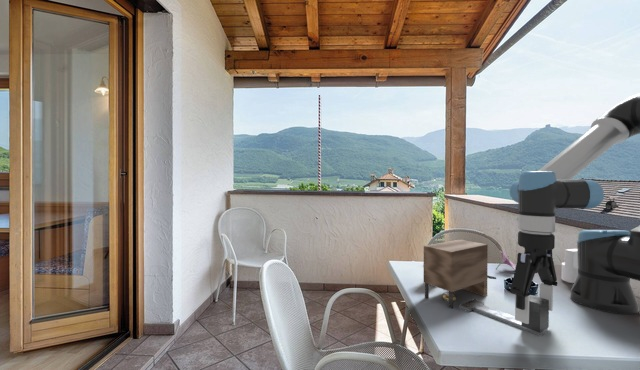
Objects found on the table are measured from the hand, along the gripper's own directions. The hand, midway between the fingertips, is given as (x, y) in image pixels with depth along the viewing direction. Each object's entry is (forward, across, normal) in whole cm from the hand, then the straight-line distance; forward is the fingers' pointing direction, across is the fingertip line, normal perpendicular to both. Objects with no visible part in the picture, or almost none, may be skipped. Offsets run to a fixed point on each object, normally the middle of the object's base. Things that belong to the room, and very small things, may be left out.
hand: (534, 315), depth 74 cm
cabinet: (+4, -4, -24) cm, 25 cm away
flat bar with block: (+4, 0, -8) cm, 9 cm away
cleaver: (+4, -29, -40) cm, 49 cm away
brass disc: (+4, 0, -24) cm, 24 cm away
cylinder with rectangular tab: (+4, -57, -8) cm, 57 cm away
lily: (+4, -48, -29) cm, 56 cm away
